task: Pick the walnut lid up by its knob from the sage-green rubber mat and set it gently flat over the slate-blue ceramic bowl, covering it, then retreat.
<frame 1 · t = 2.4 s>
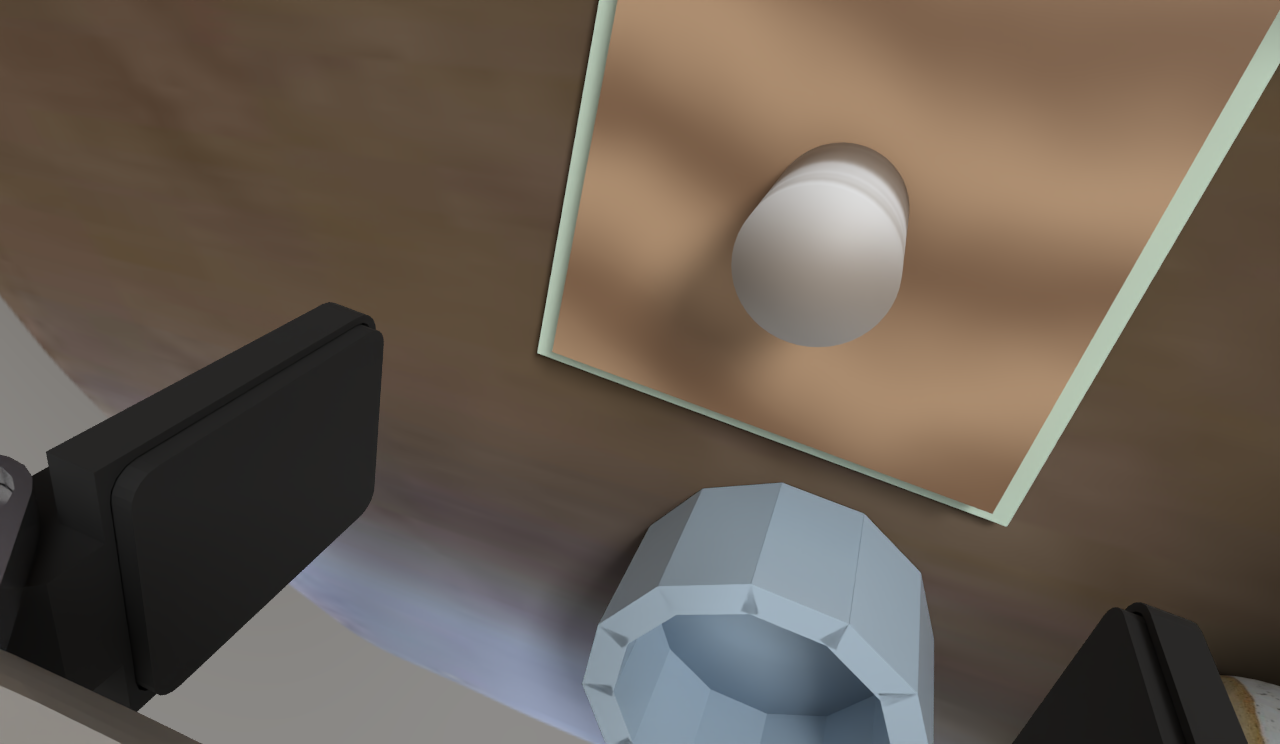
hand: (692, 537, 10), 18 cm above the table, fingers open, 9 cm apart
slate bowl: (775, 608, 33), on the table
green mat: (844, 197, 25), on the table
walnut lid: (842, 201, 25), point 1 cm above the table, touching green mat
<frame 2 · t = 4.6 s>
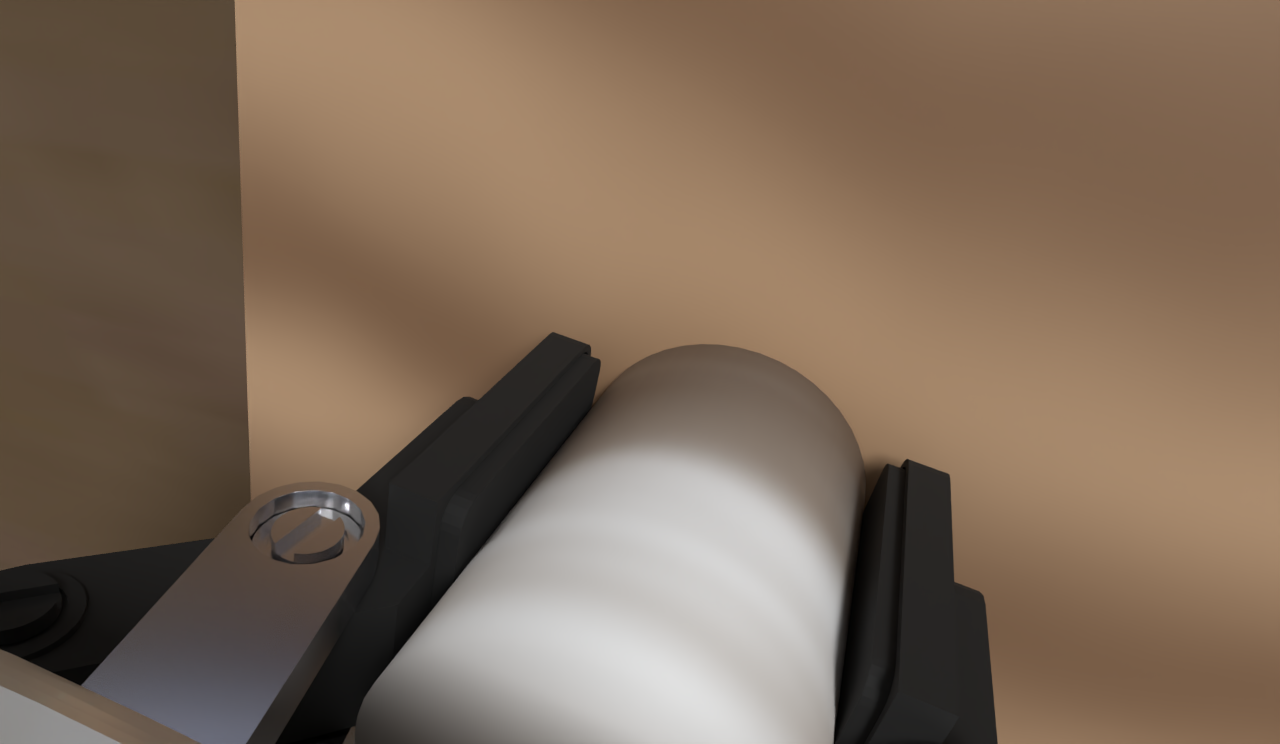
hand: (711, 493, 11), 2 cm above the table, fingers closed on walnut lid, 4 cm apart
walnut lid: (737, 433, 12), point 1 cm above the table, touching green mat, gripper
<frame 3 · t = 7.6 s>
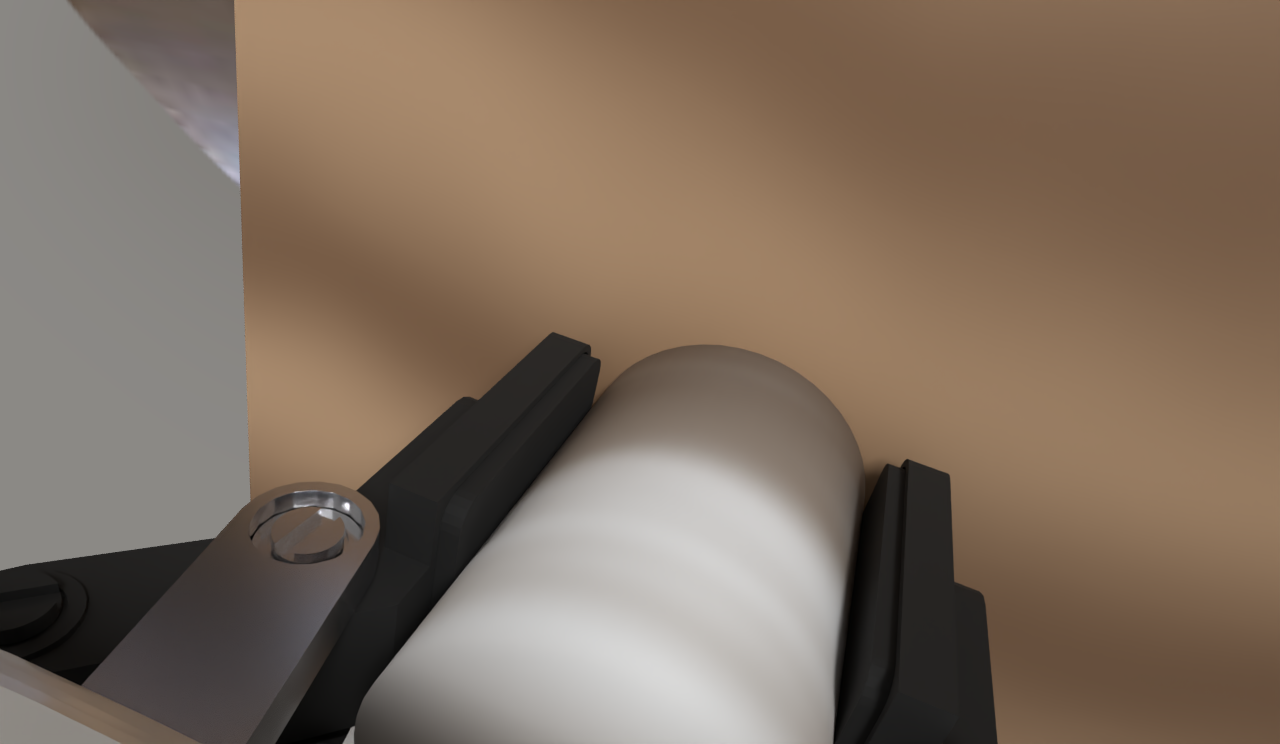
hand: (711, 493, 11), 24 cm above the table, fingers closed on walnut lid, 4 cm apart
walnut lid: (736, 433, 12), point 22 cm above the table, touching gripper
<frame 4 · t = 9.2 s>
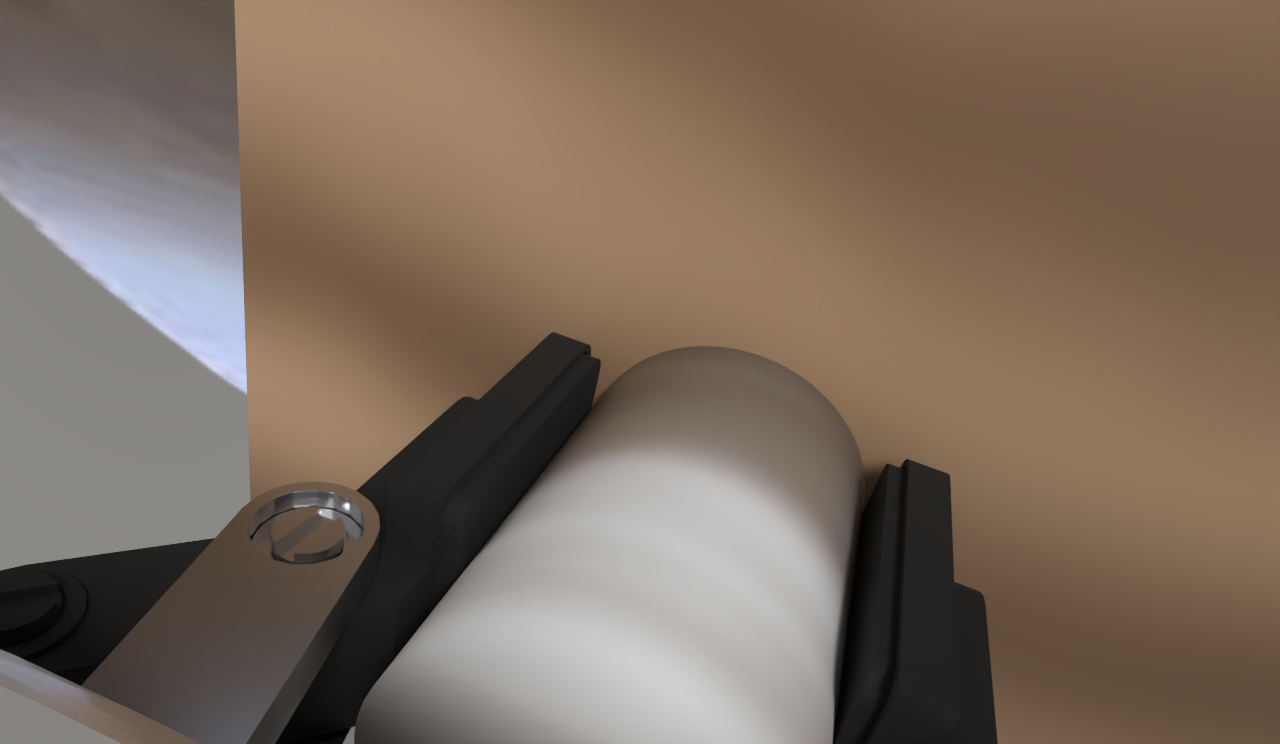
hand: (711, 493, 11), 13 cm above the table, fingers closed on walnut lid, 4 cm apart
walnut lid: (736, 434, 12), point 11 cm above the table, touching gripper
when the fingers open (8 cm above the table, at t = 10.7 s): walnut lid stays where it is, resting on slate bowl.
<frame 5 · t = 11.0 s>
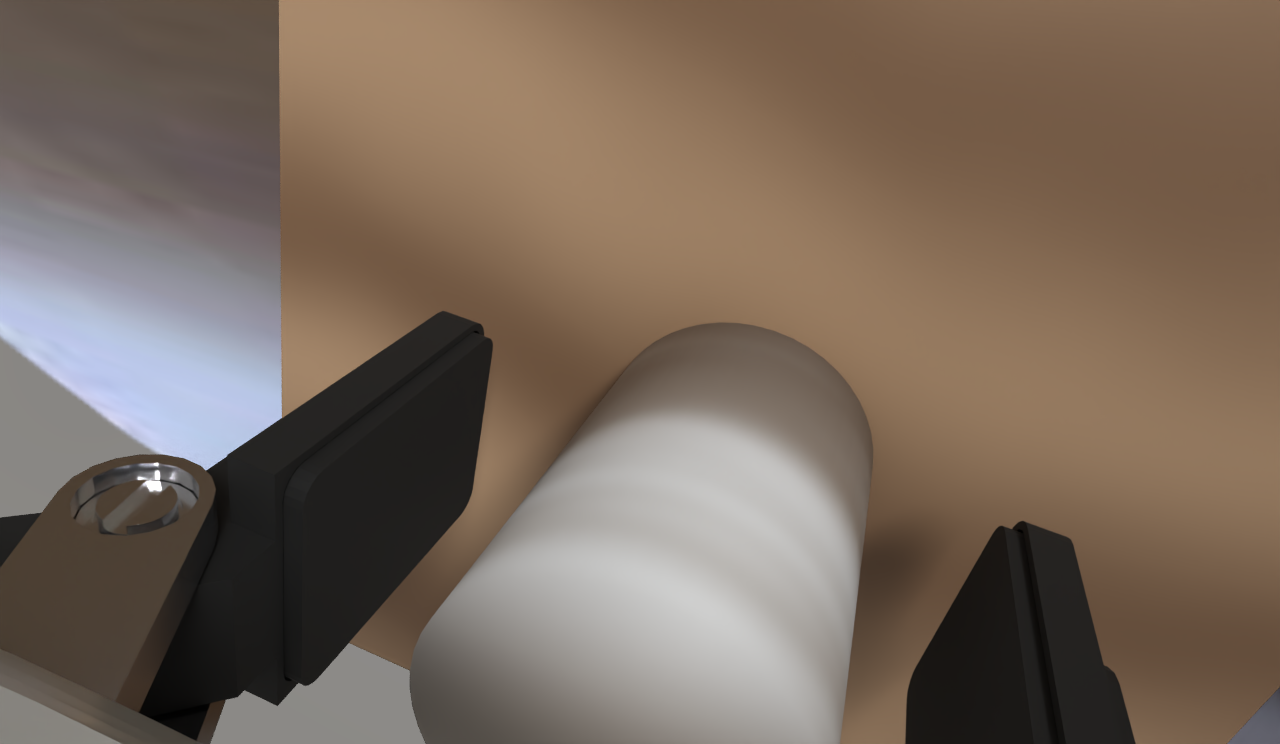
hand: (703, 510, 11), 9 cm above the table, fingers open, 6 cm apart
walnut lid: (750, 410, 13), point 6 cm above the table, touching slate bowl
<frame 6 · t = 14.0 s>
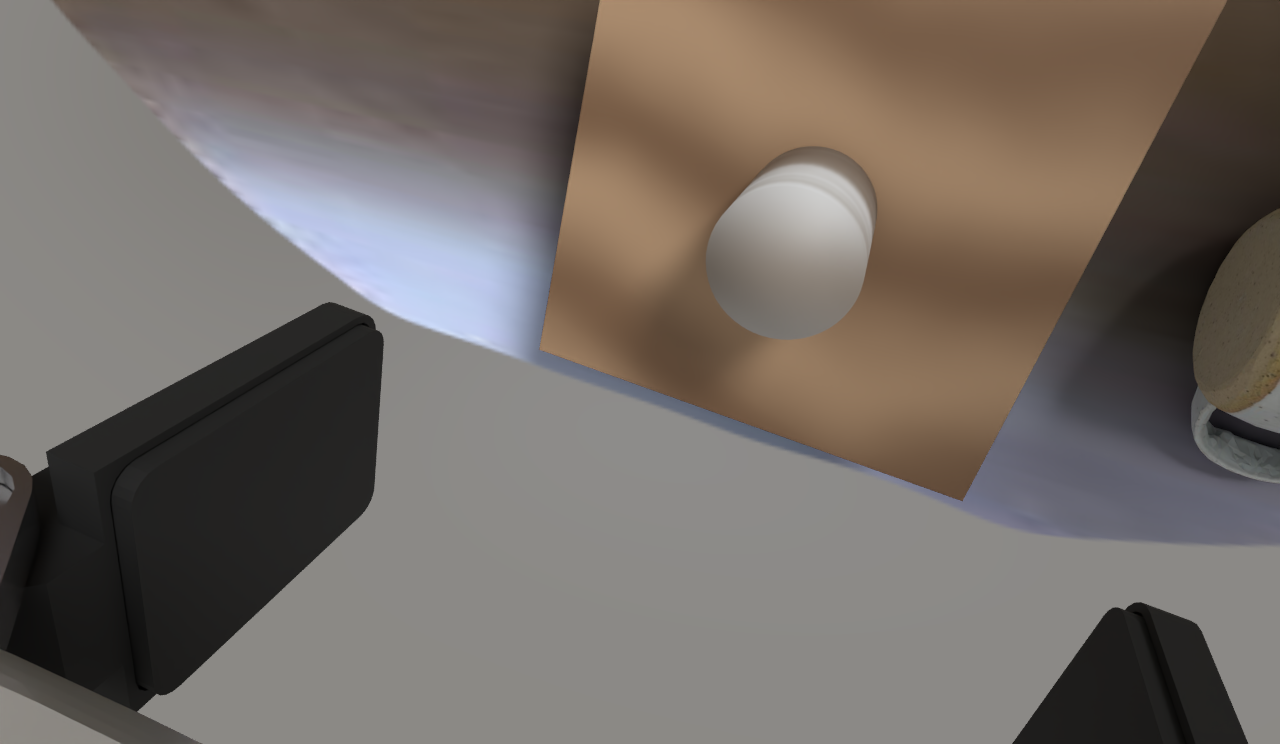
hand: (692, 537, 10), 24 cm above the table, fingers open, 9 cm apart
walnut lid: (815, 202, 26), point 6 cm above the table, touching slate bowl
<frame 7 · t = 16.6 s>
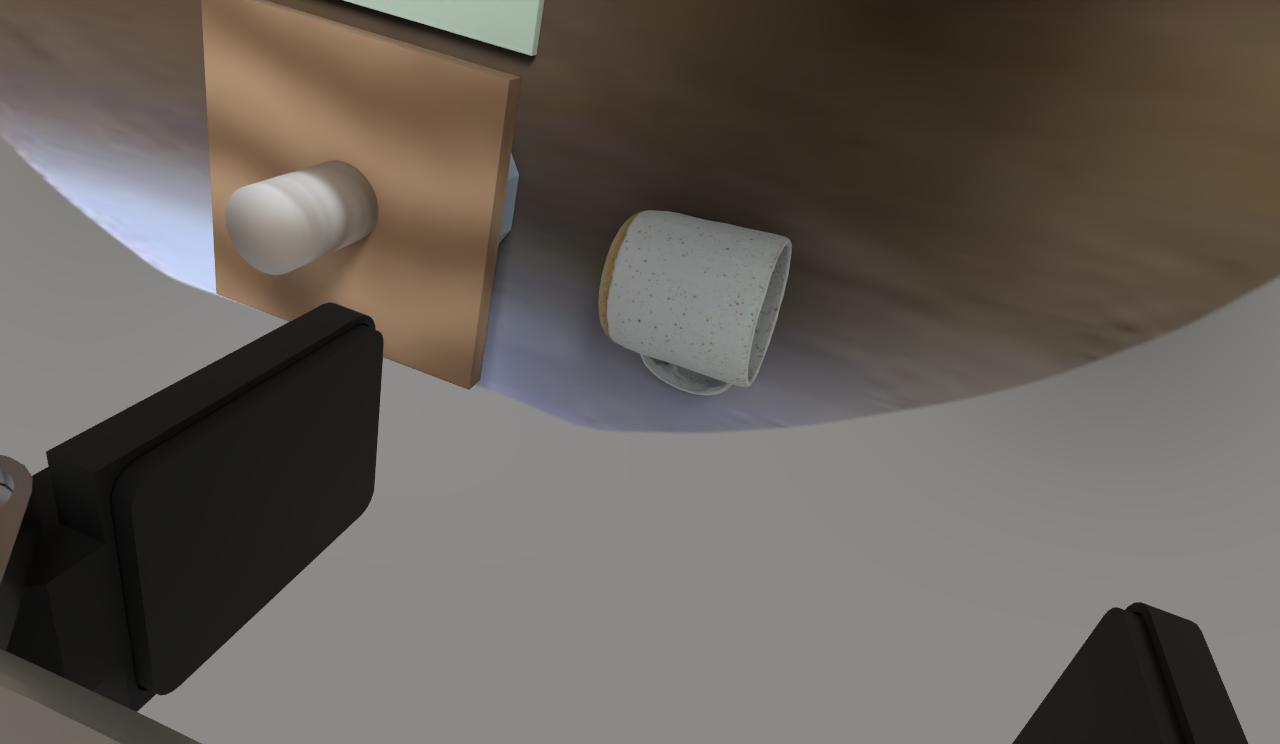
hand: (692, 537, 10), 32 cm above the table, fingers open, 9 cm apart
slate bowl: (421, 171, 46), on the table
walnut lid: (358, 195, 41), point 6 cm above the table, touching slate bowl
ceramic mug: (714, 294, 44), on the table
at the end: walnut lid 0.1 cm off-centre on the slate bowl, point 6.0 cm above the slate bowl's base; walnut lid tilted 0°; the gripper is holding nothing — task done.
